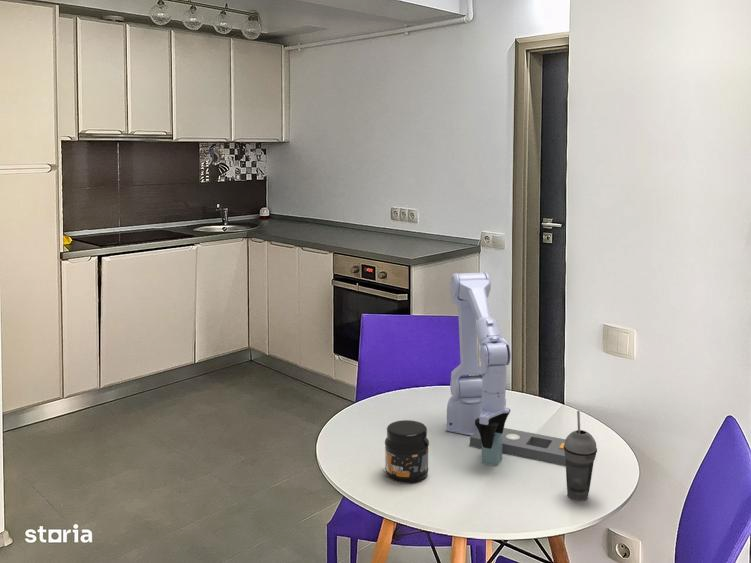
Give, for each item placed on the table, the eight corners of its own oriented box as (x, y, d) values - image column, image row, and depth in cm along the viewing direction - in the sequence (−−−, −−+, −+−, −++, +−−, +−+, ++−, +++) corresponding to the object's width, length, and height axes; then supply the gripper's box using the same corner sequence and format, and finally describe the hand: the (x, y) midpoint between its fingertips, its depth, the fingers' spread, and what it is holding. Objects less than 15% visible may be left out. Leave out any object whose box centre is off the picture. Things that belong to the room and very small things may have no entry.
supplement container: (376, 475, 172) (375, 428, 170) (402, 460, 180) (402, 415, 178) (411, 489, 165) (411, 440, 163) (437, 472, 173) (437, 426, 171)
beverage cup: (576, 507, 157) (581, 421, 153) (554, 492, 163) (558, 410, 159) (601, 499, 160) (606, 415, 156) (578, 485, 167) (582, 404, 163)
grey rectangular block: (481, 462, 178) (482, 435, 177) (486, 456, 182) (487, 429, 180) (496, 466, 177) (497, 438, 175) (501, 459, 180) (502, 432, 179)
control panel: (469, 446, 188) (470, 435, 188) (482, 432, 197) (482, 422, 196) (569, 466, 176) (570, 455, 176) (578, 450, 185) (578, 440, 184)
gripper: (500, 402, 167) (498, 456, 170) (518, 383, 180) (516, 434, 183) (471, 397, 171) (470, 450, 173) (491, 379, 183) (490, 429, 186)
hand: (492, 441), depth 178 cm, fingers open, 7 cm apart
